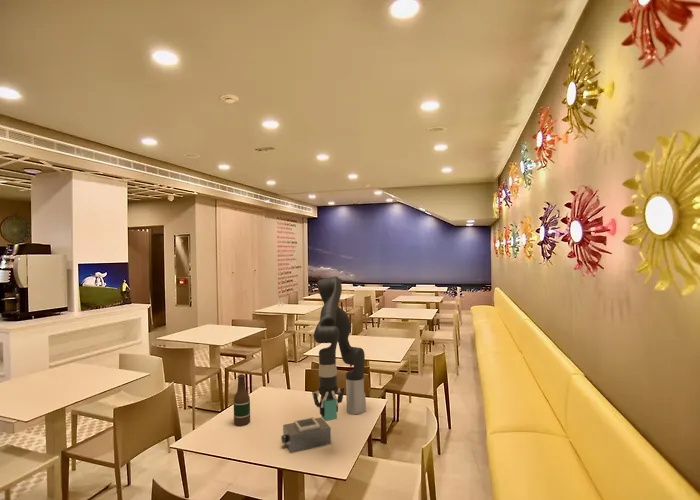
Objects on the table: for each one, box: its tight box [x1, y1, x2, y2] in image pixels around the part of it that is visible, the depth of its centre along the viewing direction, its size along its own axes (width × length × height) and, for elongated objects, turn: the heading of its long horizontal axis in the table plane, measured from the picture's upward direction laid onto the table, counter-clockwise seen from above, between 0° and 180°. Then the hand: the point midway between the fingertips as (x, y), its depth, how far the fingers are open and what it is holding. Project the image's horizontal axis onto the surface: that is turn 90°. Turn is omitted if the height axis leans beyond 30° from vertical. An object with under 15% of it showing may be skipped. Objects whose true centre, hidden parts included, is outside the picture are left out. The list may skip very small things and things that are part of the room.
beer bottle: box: [233, 373, 251, 427], centre depth 194 cm, size 8×8×24 cm
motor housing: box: [280, 417, 332, 454], centre depth 173 cm, size 20×12×8 cm, turn 114°
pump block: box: [320, 398, 338, 422], centre depth 165 cm, size 5×5×8 cm
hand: (328, 414), depth 165 cm, fingers closed on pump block, 5 cm apart
